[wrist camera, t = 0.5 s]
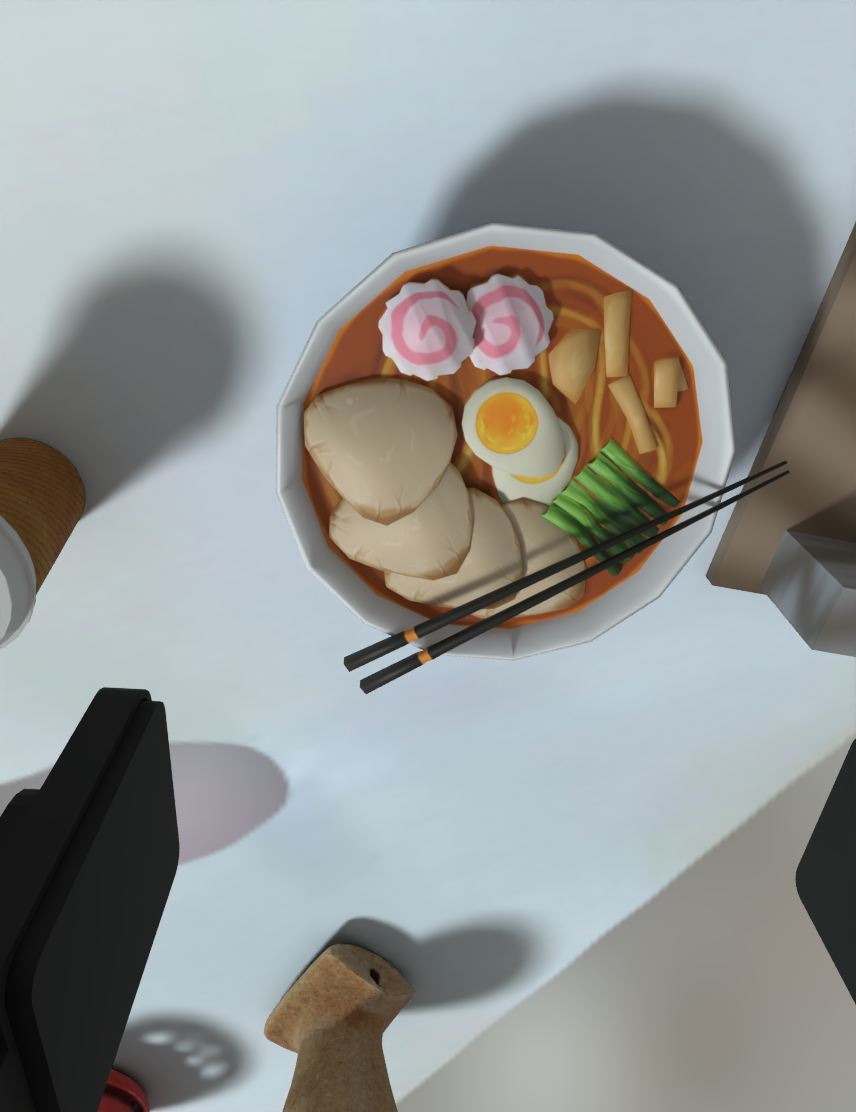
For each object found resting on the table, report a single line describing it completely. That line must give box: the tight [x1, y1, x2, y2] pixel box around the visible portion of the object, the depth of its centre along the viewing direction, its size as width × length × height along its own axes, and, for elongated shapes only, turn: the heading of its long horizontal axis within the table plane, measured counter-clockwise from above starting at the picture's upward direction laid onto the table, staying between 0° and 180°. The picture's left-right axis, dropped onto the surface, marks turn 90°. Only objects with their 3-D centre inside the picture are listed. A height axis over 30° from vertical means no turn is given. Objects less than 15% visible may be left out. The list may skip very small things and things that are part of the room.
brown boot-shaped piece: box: [264, 944, 414, 1112], centre depth 62 cm, size 15×12×15 cm
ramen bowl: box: [276, 222, 790, 694], centre depth 40 cm, size 25×23×8 cm
